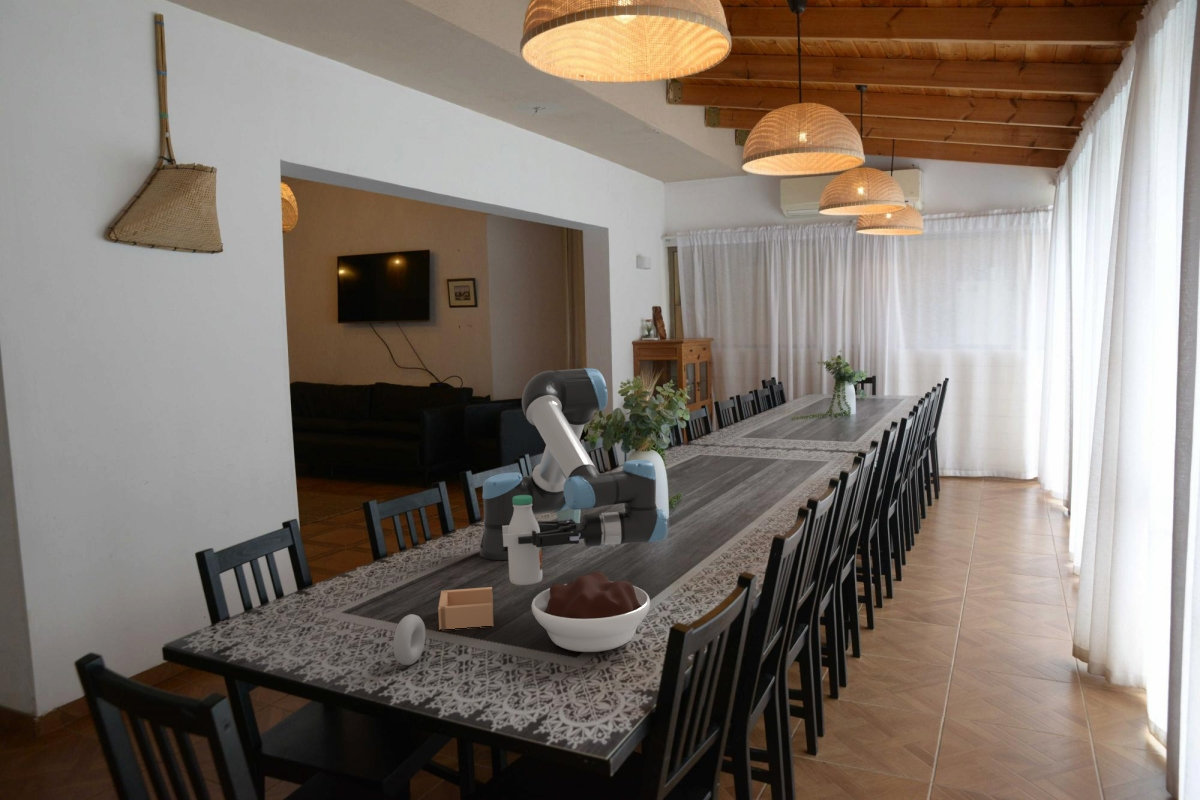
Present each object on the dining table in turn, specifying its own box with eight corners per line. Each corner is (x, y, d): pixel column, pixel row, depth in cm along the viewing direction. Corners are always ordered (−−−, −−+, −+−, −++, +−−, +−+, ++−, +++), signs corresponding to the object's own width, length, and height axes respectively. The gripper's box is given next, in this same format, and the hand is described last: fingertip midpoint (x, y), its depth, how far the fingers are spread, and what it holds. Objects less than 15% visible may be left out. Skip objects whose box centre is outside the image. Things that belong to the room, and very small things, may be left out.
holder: (493, 607, 202) (492, 586, 201) (493, 626, 189) (492, 604, 189) (442, 611, 200) (441, 590, 200) (439, 630, 187) (438, 609, 187)
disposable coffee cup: (573, 532, 270) (572, 486, 269) (546, 529, 276) (544, 484, 274) (590, 525, 279) (588, 480, 278) (563, 522, 285) (561, 478, 283)
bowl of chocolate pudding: (543, 621, 191) (541, 556, 190) (653, 621, 189) (651, 556, 187) (522, 666, 167) (519, 592, 165) (648, 667, 164) (646, 592, 163)
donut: (407, 674, 165) (404, 625, 164) (391, 673, 165) (388, 624, 165) (429, 654, 174) (427, 607, 173) (414, 653, 175) (412, 606, 174)
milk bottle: (537, 586, 191) (533, 500, 189) (505, 585, 193) (501, 499, 191) (546, 576, 199) (542, 493, 197) (515, 575, 200) (511, 492, 198)
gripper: (607, 556, 187) (504, 564, 184) (595, 534, 207) (502, 540, 204) (606, 523, 187) (502, 530, 184) (594, 504, 207) (501, 510, 204)
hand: (503, 536), depth 194 cm, fingers closed on milk bottle, 7 cm apart
